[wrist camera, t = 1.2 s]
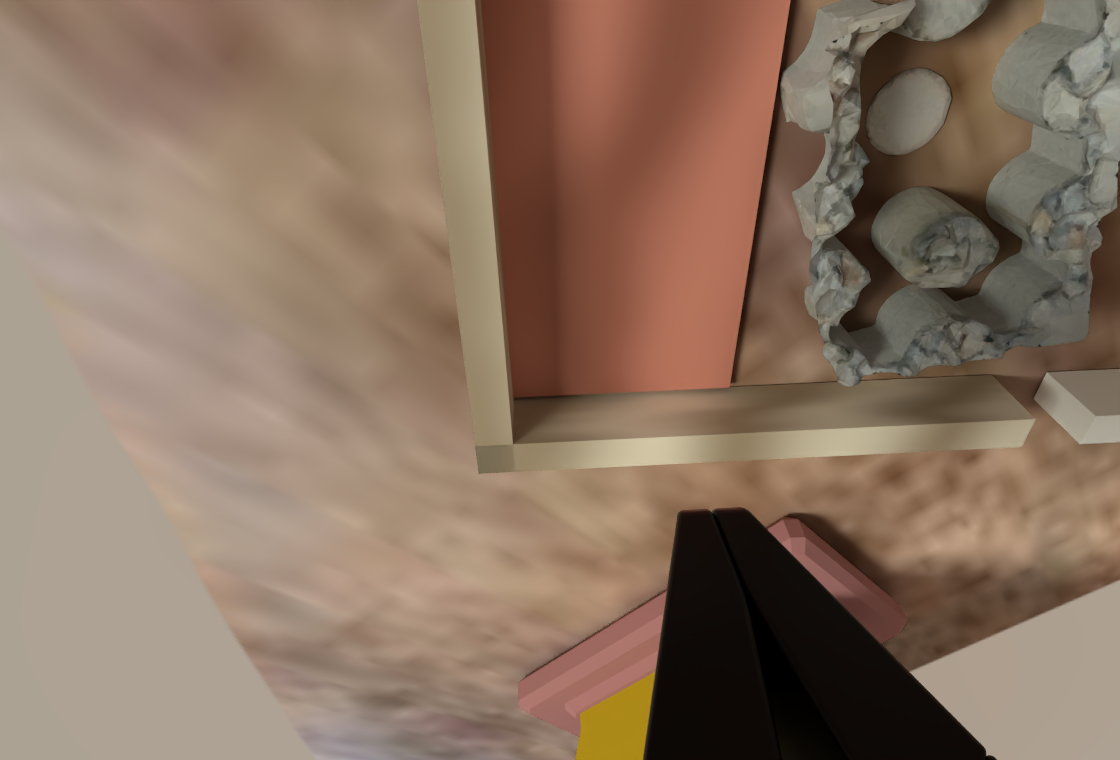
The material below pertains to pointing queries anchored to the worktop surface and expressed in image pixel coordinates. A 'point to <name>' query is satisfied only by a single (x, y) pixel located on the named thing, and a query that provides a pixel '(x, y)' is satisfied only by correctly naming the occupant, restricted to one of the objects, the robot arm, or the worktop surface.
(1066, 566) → the worktop surface
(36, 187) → the worktop surface
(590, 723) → the retro mantel clock
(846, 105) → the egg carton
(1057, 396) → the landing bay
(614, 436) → the channel
